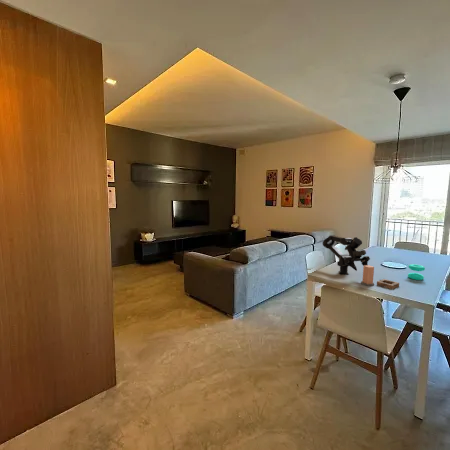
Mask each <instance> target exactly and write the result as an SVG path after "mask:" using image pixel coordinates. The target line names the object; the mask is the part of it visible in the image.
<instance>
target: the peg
mask: <svg viewBox="0 0 450 450" xmlns="http://www.w3.org/2000/svg"><path fill="white" fill-rule="evenodd" d="M362 268H363V269H362V271H363V272H362V280H361V281H362V282H364V283H366V284H373V283H374V272H375V267H374V266H373V265H370V264H368V265H365V266H363V267H362Z"/></svg>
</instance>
